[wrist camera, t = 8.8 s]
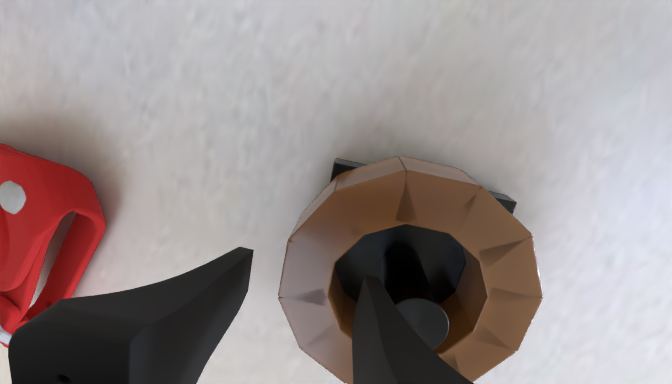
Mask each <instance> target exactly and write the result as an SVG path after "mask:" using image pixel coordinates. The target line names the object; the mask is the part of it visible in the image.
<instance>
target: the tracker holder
mask: <svg viewBox="0 0 672 384" xmlns="http://www.w3.org/2000/svg"><path fill="white" fill-rule="evenodd" d="M72 211H74V212H77V213H76V215H75V217H74V220H73V222H72V224H71V226H70V229H69V231H68V233H67V236H66V238H65V240H64V242H63V245H62V247H61V249H60V252H59V254H58V256H57V258H56V261H55V263H54V265H53V267H52V269H51V271H50V274H49V277H48V279H47V282H46V285H45V287H44V288H43V290H42V292H41V293H40V295H39V297H38V299H37V300H36V302H35V304H34V305H32V306H31V307H30V308H29V306H30V304H31V301H32V298H33V295H34V292H35V289H36V286H37V282H38V279H39V275H40V272H41V268H42V265H43V262H44V258H45V255H46V251H47V248H48V244H49V242H50V240H51V238H52V236H53V234H54V233H55V231H56V229H57V227H58V225H59V223H60V221H61V220H62V218H63V217H64V216H65V215H66V214H68V213H69V212H72ZM105 227H106V222H105V219H104V216H103V213H102V210H101V207H100V204H99V201H98V199H97V196H96V193H95V190H94V187H93V184H92V182H91V181H90V180H89V179H88V178H87V177H85V176H84V175H83V174H81V173H80V172H78V171H76V170H74V169H72V168H70V167H67V166H64V165H61V164H58V163H55V162H52V161H49V160H45V159H41V158H38V157H35V156H32V155H28V154H25V153H22V152H20V151H17V150H15V149H13V148H12V147H10V146H7V145H4V144H1V143H0V343H1V344H3V345H4V346H5V347H7V348H8V346H9V341H10V339H11V336H12V334H13V333H14V332H15V331H16V330H17V329H18V328H19V327H21V326H22V325H23V324H25V323H26V322H28V321H29V320H31V319H32V318H34V317H35V316H37V315H38V314H40V313H41V312H43V311H44V310H45V309H47V308H48V307H50V306H51V305H53V304H54V303H56V302H57V301H59V300H60V299H67V298H71V296H72V294H73V292H74V290H75V288H76V286H77V284H78V282H79V280H80V278H81V276H82V275H83V273H84V271H85V269H86V267H87V265H88V263H89V261H90V259H91V257H92V255H93V253H94V251H95V249H96V248H97V246H98V244H99V242H100V240H101V238H102V236H103V234H104V232H105Z"/></svg>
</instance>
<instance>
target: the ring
mask: <svg viewBox="0 0 672 384" xmlns="http://www.w3.org/2000/svg"><path fill="white" fill-rule="evenodd" d="M403 224H409V225H413V226H418V227H422V228H427V229H431V230H436V231H440V232H445V233H449V234H450V235H451V236H452V237H453V238H454V239H455V240H456V241H457V242H459V243H460V244H461V245H462V248H463V252H464V256H465V260H466V264H465V267H464V269H463V272H462V275H461V277H460V280H459V283H458V285H457V288H456V291H455V292H454V293H453V294H452V295H450V296H449V297H448V298H447V299H445V300H444V301H443V302H442V303H441V304H440V305H441V306H442V307H443V308H444V310H445V312H446V315H447V317H448V321H449V330H448V334H447V336H446V338H445V339H444V341H443V342H442V343H441V344H440V345H439V346H437V347H436V348H434V349H432V350H433V351H434V352H435V353H436V354H437V355H438V356H440V357H441V358H442V359H443V360H444V361H445V362H446V363H447V364H449V365H450V366H451V367H452V368H454V369H455V370H456V371H457V372H459V373H460V374H461V375H463V376H464V377H465V378H466V379H468V380H469V381H471V382H474V381H475V380H476V379H478V378H479V377H481V376H482V375H484V374H485V373H487V372H488V371H489V370H491V369H492V368H494V367H495V366H497V365H498V364H500V363H501V362H502V361H504V360H505V359H507V358H508V357H510V356H511V355H513V354H514V353H515V352H516V351H518V349H519V347H520V345H521V343H522V341H523V339H524V337H525V335H526V332H527V330H528V328H529V326H530V324H531V322H532V320H533V318H534V316H535V314H536V312H537V309H538V307H539V305H540V303H541V301H542V299H543V297H542V296H543V292H542V287H541V281H540V276H539V270H538V265H537V259H536V253H535V248H534V242H533V237H532V234H531V233H530V232H529V231H528V230H527V229H526V228H525V227H524V226H523V225H522V224H521V223H520V222H519V221H518V220H517V219H516V218H515V217H514V216H513V215H512V214H511V213H509V212H508V211H507V210H506V209H505V208H504V207H503V206H502V205H501V204H500V203H499V202H498V201H497V200H496V199H495V198H494V197H493V196H492V195H491V194H490V193H489V192H488V191H487V190H486V189H485V188H483V187H482V186H481V185H480V184H478V183H477V182H476V181H475V180H473V179H472V178H471V177H469V176H468V175H467V174H465V173H464V172H463V171H462V170H459V169H458V168H453V167H449V166H444V165H439V164H435V163H430V162H426V161H421V160H417V159H412V158H407V157H403V156H399V157H397V156H395V157H392V158H389V159H385V160H382V161H379V162H375V163H372V164H369V165H366V166H362V167H359V168H356V169H352V170H349V171H346V172H343V173H340V175H337V176H336V177H335V178H334V179H333V180H332V181H331V183H330V184H329V185H328V186H327V187H326V188H325V189H324V190H323V191H322V192H321V193H320V194H319V195H318V197H317V198H316V199H315V200H314V201H313V202H312V203H311V204H310V205H309V206H308V207H307V208H306V209H305V210H304V212H303V213H302V214H301V216H300V218H299V220H298V222H297V224H296V226H295V228H294V230H293V232H292V234H291V236H290V238H289V239H288V242H287V248H286V253H285V259H284V265H283V270H282V276H281V282H280V288H279V293H278V296H279V297H278V299H279V301H280V303H281V306H282V308H283V310H284V313H285V315H286V317H287V320H288V322H289V324H290V327H291V329H292V331H293V333H294V336H295V338H296V340H297V343H298V345H299V347H300V348H301V350H302V351H304V352H305V353H306V354H308V355H309V356H310V357H311V358H313V359H314V360H315V361H317V362H318V363H319V364H321V365H322V366H323V367H324V368H326V369H327V370H328V371H330V372H331V373H332V374H334V375H335V376H336V377H337V378H339V379H340V380H341V381H343V382H344V383H347V384H353V360H352V330H353V319H354V313H355V309H356V305H357V302H355V301H354V300H353V299H352V298H351V297H349V296H348V295H347V294H346V293H344V292H343V289H342V286H341V283H340V281H339V278H338V275H337V273H336V270H335V263H336V262H337V261H338V260H339V259H340V258H341V257H342V256H343V255H344V254H345V253H346V252H347V251H348V250H349V249H350V248H351V247H352V246H353V245H354V244H355V243H356V242H357V241H358V240H359V239H360V238H361V237H362V236H363V235H366V234H369V233H373V232H377V231H380V230H384V229H388V228H392V227H395V226H399V225H403Z"/></svg>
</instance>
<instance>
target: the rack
mask: <svg viewBox="0 0 672 384" xmlns="http://www.w3.org/2000/svg"><path fill="white" fill-rule="evenodd" d="M362 166H366V164H361V163H357V162H352V161H348V160H343V159H338V158H336V160H335V162H334V166H333V171H332V176H331V181H332V180H333V179H334V178H335V177H336V176H337V175H340V173H343V172H346V171H349V170H352V169H356V168H359V167H362ZM331 181H330V183H331ZM488 192H489V193H490V194H491V195H492V196H493V197H494V198H495V199H496V200H497V201H498V202H499V203H500V204H501V205H502V206H503V207H504V208H505V209H506V210H507V211H508V212H509V213H511V214H513V212H514V209H515V207H516V204H517V202H515V201H514V200H513V199H511V198H510V197H508V196H507V195H504V194H499V193H494V192H490V191H488ZM465 264H466V260H465V256H464V252H463V248H462V245H461V244H460V243H459V242H457V241H456V240H455V239H454V238H453V237H452V236H451V235H450V234H449V233H445V232H440V231H436V230H431V229H427V228H422V227H418V226H413V225H409V224H403V225H399V226H395V227H392V228H388V229H384V230H380V231H377V232H373V233H369V234H366V235H363V236H362V237H361V238H360V239H359V240H358V241H357V242H356V243H355V244H354V245H353V246H352V247H351V248H350V249H349V250H348V251H347V252H346V253H345V254H344V255H343V256H342V257H341V258H340V259H339V260H338V261H337V262H336V263H335V270H336V273H337V275H338V278H339V281H340V283H341V286H342V289H343V292H344V293H346V294H347V295H348V296H349V297H351V298H352V299H353V300H354V301H355V302H357V301H358V298H359V294H360V290H361V286H362V283H363V279H364V275H368V276H373V277H377V278H379V279H380V281H381V282H382V284H383V286H384V287H385V289H386V291H387V293H388V294H389V296H390V298H391V299H392V301H393V302H394V304H395V306H396V307H397V309H398V310H399V312H400V313H401V314H402V316H403V317H404V318H405V320H406V321H407V322H408V324H409V325H410V326H411V327H412V329H413V330H414V331H415V332H416V333H417V334H418V335H419V337H420V338H421V339H422V340H423V341H424V342H425V343H426V344H427V345H428V346H429V347H430V348H431V349H434V348H436V347H437V346H439V345H440V344H441V343H442V342H443V341H444V339H445V338H446V336H447V334H448V330H449V321H448V317H447V315H446V312H445V310H444V308H443V307H442V306H441V305H440V304H441V303H442V302H443V301H444V300H445V299H447V298H448V297H449V296H450V295H452V294H453V293H454V292H455V291H456V288H457V285H458V283H459V280H460V277H461V275H462V272H463V269H464V267H465Z"/></svg>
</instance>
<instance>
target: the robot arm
mask: <svg viewBox="0 0 672 384" xmlns="http://www.w3.org/2000/svg"><path fill="white" fill-rule="evenodd" d="M253 251H254V250H252V249H247V248H243V247H238V248H236V249H234V250H232V251H230V252H228V253H226V254H224V255H222V256H221V257H219V258H217V259H215V260H213V261H211V262H209V263H207V264H204V265H202V266H200V267H198V268H195V269H193V270H191V271H189V272H186V273H184V274H181V275H179V276H176V277H173V278H170V279H167V280H164V281H161V282H158V283H154V284H150V285H146V286H142V287H139V288H135V289H130V290H125V291H120V292H115V293H109V294H102V295H95V296H86V297H77V298H67V299H60V300H59V301H57V302H56V303H54V304H53V305H51V306H50V307H48V308H47V309H45V310H44V311H43V312H41V313H40V314H38V315H37V316H35V317H34V318H32V319H31V320H29V321H28V322H26V323H25V324H23V325H22V326H21V327H19V328H18V329H17V330H16V331H15V332H14V333H13V334H12V336H11V339H10V341H9V346H8V358H9V365H10V372H11V379H12V384H196V383H197V381H198V379H199V377H200V375H201V373H202V371H203V369H204V367H205V365H206V363H207V361H208V360H209V358H210V356H211V355H212V353H213V351H214V350H215V348H216V347H217V345H218V343H219V342H220V340H221V339H222V337H223V335H224V334H225V332H226V331H227V329H228V328H229V326H230V324H231V323H232V321H233V319H234V318H235V316H236V315H237V313H238V311H239V309H240V307H241V305H242V303H243V301H244V298H245V296H246V294H247V292H248V286H249V279H250V272H251V265H252V258H253ZM352 360H353V384H474V383H472V382H471V381H469V380H468V379H466V378H465V377H464V376H463V375H461V374H460V373H459V372H457V371H456V370H455V369H454V368H452V367H451V366H450V365H449V364H447V363H446V362H445V361H444V360H443V359H442V358H441V357H440V356H438V355H437V354H436V353H435V352H434V351H433V350H432V349H431V348H430V347H429V346H428V345H427V344H426V343H425V342H424V341H423V340H422V339H421V338H420V337H419V335H418V334H417V333H416V332H415V331H414V330H413V329H412V327H411V326H410V325H409V324H408V322H407V321H406V320H405V318H404V317H403V316H402V314H401V313H400V312H399V310H398V309H397V307H396V306H395V304H394V302H393V301H392V299H391V298H390V296H389V294H388V293H387V291H386V289H385V287H384V286H383V284H382V282H381V281H380V279H379V278H377V277H373V276H368V275H364V279H363V283H362V286H361V290H360V294H359V298H358V301H357V305H356V309H355V313H354V319H353V330H352Z"/></svg>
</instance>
